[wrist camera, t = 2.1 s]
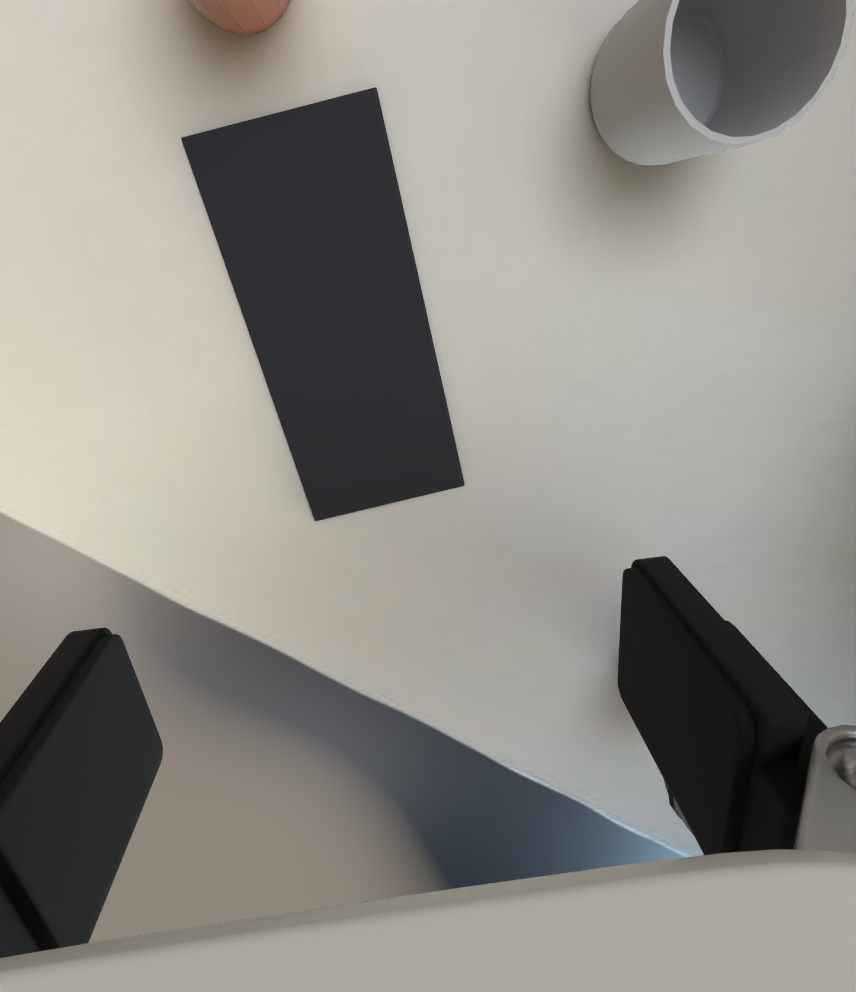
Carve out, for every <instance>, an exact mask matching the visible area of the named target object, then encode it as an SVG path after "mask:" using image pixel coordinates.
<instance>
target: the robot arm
mask: <svg viewBox="0 0 856 992" xmlns="http://www.w3.org/2000/svg"><path fill="white" fill-rule="evenodd" d="M618 687H619V692H620V695H621V698H622V700H623V702H624V704H625V706H626V708H627V710H628V711H629V713H630V715H631V717H632V719H633V721H634V723H635V725H636V727H637V728H638V730H639V732H640V734H641V736H642V738H643V740H644V742H645V744H646V745H647V747H648V749H649V751H650V753H651V755H652V757H653V759H654V761H655V763H656V764H657V766H658V768H659V770H660V772H661V774H662V776H663V778H664V780H665V781H666V783H667V785H668V787H669V789H670V791H671V793H672V795H673V797H674V798H675V800H676V802H677V804H678V806H679V808H680V810H681V812H682V814H683V815H684V817H685V819H686V821H687V823H688V825H689V827H690V829H691V831H692V832H693V834H694V836H695V838H696V840H697V842H698V844H699V846H700V848H701V849H702V851H703V853H704V855H703V856H695V857H686V858H678V859H671V860H662V861H654V862H646V863H638V864H629V865H621V866H614V867H606V868H599V869H592V870H585V871H577V872H570V873H564V874H556V875H549V876H542V877H535V878H528V879H520V880H514V881H506V882H499V883H492V884H485V885H477V886H470V887H463V888H456V889H450V890H442V891H436V892H429V893H422V894H415V895H408V896H401V897H394V898H387V899H380V900H373V901H366V902H360V903H353V904H346V905H339V906H332V907H326V908H319V909H312V910H305V911H298V912H292V913H285V914H278V915H271V916H264V917H257V918H251V919H244V920H238V921H231V922H225V923H218V924H212V925H205V926H199V927H192V928H185V929H179V930H172V931H165V932H159V933H152V934H145V935H139V936H132V937H126V938H119V939H113V940H106V941H99V942H93V943H88V942H89V939H90V937H91V935H92V932H93V930H94V927H95V925H96V922H97V920H98V917H99V915H100V912H101V910H102V907H103V905H104V902H105V900H106V898H107V895H108V892H109V890H110V888H111V885H112V883H113V880H114V877H115V875H116V872H117V870H118V868H119V865H120V863H121V860H122V858H123V855H124V853H125V850H126V848H127V845H128V843H129V841H130V838H131V836H132V833H133V831H134V828H135V826H136V823H137V821H138V818H139V816H140V813H141V811H142V808H143V806H144V803H145V800H146V798H147V796H148V793H149V791H150V788H151V786H152V783H153V781H154V779H155V776H156V774H157V771H158V769H159V766H160V764H161V760H162V753H163V747H162V742H161V738H160V736H159V733H158V731H157V728H156V725H155V723H154V720H153V718H152V715H151V712H150V710H149V707H148V705H147V702H146V700H145V697H144V694H143V692H142V690H141V687H140V684H139V682H138V679H137V676H136V674H135V671H134V669H133V666H132V663H131V661H130V658H129V656H128V653H127V650H126V648H125V645H124V643H123V640H122V638H121V637H120V636H119V635H117V634H113V635H112V633H111V631H110V630H109V629H107V628H98V629H90V630H82V631H74V632H71V633H69V634H68V635H67V636H66V637H65V639H64V640H63V641H62V643H61V644H60V645H59V646H58V648H57V649H56V651H55V652H54V653H53V654H52V656H51V657H50V658H49V660H48V661H47V662H46V663H45V665H44V666H43V667H42V669H41V670H40V671H39V673H38V674H37V675H36V677H35V678H34V679H33V680H32V682H31V683H30V684H29V686H28V687H27V689H26V690H25V691H24V693H23V694H22V695H21V696H20V698H19V699H18V700H17V701H16V703H15V704H14V705H13V707H12V708H11V709H10V711H9V712H8V713H7V715H6V716H5V717H4V718H3V720H2V721H1V722H0V992H856V726H848V725H840V726H836V727H831V728H827V727H826V726H825V724H824V723H823V722H822V721H821V720H820V719H819V718H818V717H817V716H816V715H815V713H814V712H813V711H812V710H811V709H810V708H809V707H808V706H807V705H806V704H805V703H804V701H803V700H802V699H801V698H800V697H799V696H798V695H797V694H796V693H795V692H794V690H793V689H792V688H791V687H790V686H789V685H788V684H787V683H786V682H785V681H784V680H783V678H782V677H781V676H780V675H779V674H778V673H777V672H776V671H775V670H774V669H773V667H772V666H771V665H770V664H769V663H768V662H767V661H766V660H765V659H764V658H763V657H762V655H761V654H760V653H759V652H758V651H757V650H756V649H755V648H754V647H753V646H752V644H751V643H750V642H749V641H748V640H747V639H746V638H745V637H744V636H743V635H742V634H741V632H740V631H739V630H738V629H737V628H736V627H735V626H734V625H733V624H731V623H730V622H729V621H725V620H724V619H723V618H722V617H721V616H720V615H719V614H718V613H717V612H716V610H715V609H714V608H713V607H712V606H711V605H710V604H709V603H708V602H707V600H706V599H705V598H704V597H703V596H702V595H701V594H700V593H699V592H698V590H697V589H696V588H695V587H694V586H693V585H692V584H691V583H690V582H689V580H688V579H687V578H686V577H685V576H684V575H683V574H682V573H681V572H680V570H679V569H678V568H677V567H676V566H675V565H674V564H673V563H672V562H671V560H670V559H668V558H667V557H665V556H662V557H654V558H646V559H638V560H635V561H633V563H632V566H631V568H629V569H625V570H624V572H623V581H622V601H621V622H620V643H619V663H618Z"/></svg>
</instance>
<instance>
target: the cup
mask: <svg viewBox="0 0 856 992" xmlns="http://www.w3.org/2000/svg"><path fill="white" fill-rule="evenodd" d="M852 18H853V0H640V1H638V2H637V3H636V4H635V5H634V6H633V7H632V8H631V9H629V10H628V11H627V12H626V14H625V15H624V16H623V17H622V18H621V20H620V21H619V22H618V23H617V24H616V25H615V27H614V28H613V29H612V30H611V31H610V33H609V34H608V35H607V37H606V39H605V41H604V43H603V45H602V47H601V49H600V51H599V53H598V55H597V59H596V62H595V66H594V70H593V73H592V77H591V95H590V101H591V107H592V113H593V119H594V122H595V124H596V126H597V128H598V131H599V133H600V135H601V138H602V139H603V140H604V141H605V143H606V144H607V145H608V146H609V147H610V149H611V150H612V151H613V152H614V153H616V154H617V155H619V156H620V157H622V158H623V159H625V160H626V161H629V162H633V163H636V164H640V165H662V164H669V163H674V162H678V161H682V160H686V159H690V158H695V157H699V156H703V155H707V154H711V153H716V152H720V151H724V150H728V149H732V148H737V147H741V146H745V145H749V144H753V143H756V142H759V141H762V140H765V139H768V138H771V137H773V136H776V135H778V134H779V133H781V132H782V131H784V130H785V129H787V128H788V127H790V126H791V125H793V124H794V123H796V122H797V121H799V120H800V119H801V118H802V117H803V116H804V115H805V114H806V113H807V112H808V111H809V109H810V108H811V107H812V106H813V105H814V104H815V103H816V102H817V101H818V100H819V99H820V97H821V96H822V94H823V93H824V91H825V89H826V88H827V86H828V85H829V83H830V82H831V80H832V79H833V77H834V75H835V74H836V71H837V69H838V66H839V64H840V61H841V59H842V56H843V54H844V52H845V49H846V47H847V43H848V38H849V33H850V28H851V23H852Z"/></svg>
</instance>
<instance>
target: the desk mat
mask: <svg viewBox="0 0 856 992" xmlns="http://www.w3.org/2000/svg"><path fill="white" fill-rule="evenodd" d="M181 139H182V142H183V145H184V148H185V151H186V154H187V156H188V159H189V162H190V165H191V168H192V171H193V174H194V176H195V179H196V182H197V185H198V188H199V191H200V194H201V196H202V199H203V202H204V205H205V208H206V211H207V214H208V216H209V219H210V222H211V225H212V228H213V231H214V234H215V237H216V239H217V242H218V245H219V248H220V251H221V254H222V257H223V259H224V262H225V265H226V268H227V271H228V274H229V277H230V279H231V282H232V285H233V288H234V291H235V294H236V297H237V299H238V302H239V305H240V308H241V311H242V314H243V317H244V319H245V322H246V325H247V328H248V331H249V334H250V337H251V339H252V342H253V345H254V348H255V351H256V354H257V357H258V359H259V362H260V365H261V368H262V371H263V374H264V377H265V379H266V382H267V385H268V388H269V391H270V394H271V397H272V399H273V402H274V405H275V408H276V411H277V414H278V417H279V419H280V422H281V425H282V428H283V431H284V434H285V437H286V439H287V442H288V445H289V448H290V451H291V454H292V457H293V459H294V462H295V465H296V468H297V471H298V474H299V477H300V479H301V482H302V485H303V488H304V491H305V494H306V497H307V499H308V502H309V505H310V508H311V511H312V514H313V517H314V519H315V521H318V520H322V519H326V518H331V517H335V516H339V515H343V514H347V513H351V512H356V511H360V510H364V509H368V508H372V507H376V506H381V505H385V504H389V503H393V502H397V501H401V500H405V499H410V498H414V497H418V496H422V495H426V494H430V493H435V492H439V491H443V490H447V489H451V488H455V487H460V486H464V480H463V475H462V471H461V466H460V462H459V457H458V453H457V448H456V444H455V439H454V435H453V430H452V426H451V421H450V417H449V412H448V408H447V403H446V399H445V394H444V390H443V385H442V381H441V376H440V372H439V367H438V363H437V358H436V354H435V349H434V345H433V340H432V336H431V331H430V327H429V322H428V318H427V313H426V309H425V304H424V300H423V295H422V291H421V286H420V282H419V277H418V273H417V268H416V264H415V259H414V255H413V250H412V246H411V241H410V237H409V232H408V228H407V223H406V219H405V214H404V210H403V205H402V201H401V196H400V192H399V187H398V183H397V178H396V174H395V169H394V164H393V160H392V155H391V151H390V146H389V142H388V137H387V133H386V128H385V124H384V119H383V115H382V110H381V106H380V101H379V97H378V92H377V88H371V89H368V90H364V91H360V92H356V93H352V94H348V95H345V96H341V97H337V98H333V99H329V100H325V101H321V102H318V103H314V104H310V105H306V106H302V107H298V108H294V109H291V110H287V111H283V112H279V113H275V114H271V115H267V116H264V117H260V118H256V119H252V120H248V121H244V122H241V123H237V124H233V125H229V126H225V127H221V128H217V129H214V130H210V131H206V132H202V133H198V134H194V135H190V136H187V137H183V138H181Z"/></svg>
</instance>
